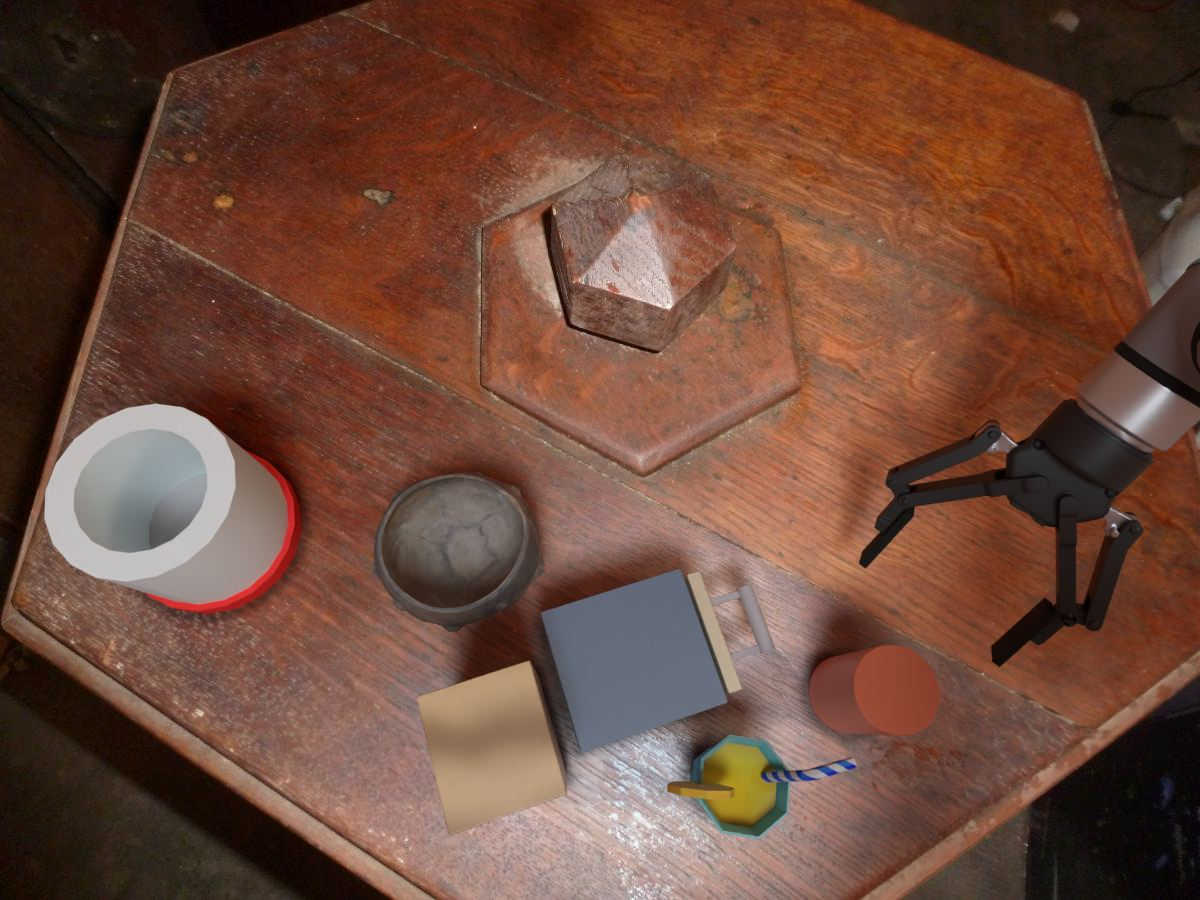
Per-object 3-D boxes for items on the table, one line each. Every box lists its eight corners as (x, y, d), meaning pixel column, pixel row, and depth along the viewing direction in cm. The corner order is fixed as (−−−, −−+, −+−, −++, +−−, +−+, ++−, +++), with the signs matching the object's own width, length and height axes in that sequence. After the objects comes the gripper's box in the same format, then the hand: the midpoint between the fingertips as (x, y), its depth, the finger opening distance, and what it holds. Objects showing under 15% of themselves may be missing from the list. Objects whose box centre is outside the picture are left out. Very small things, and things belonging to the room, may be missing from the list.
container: (147, 455, 78) (57, 398, 64) (309, 452, 79) (254, 395, 65) (120, 616, 73) (15, 592, 59) (293, 611, 73) (230, 587, 60)
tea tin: (894, 718, 73) (955, 718, 61) (826, 744, 72) (875, 748, 60) (863, 646, 75) (916, 632, 63) (797, 669, 74) (839, 660, 62)
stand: (566, 774, 70) (567, 794, 51) (480, 804, 69) (448, 836, 50) (538, 675, 72) (529, 659, 54) (455, 702, 71) (416, 696, 52)
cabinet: (666, 586, 76) (680, 567, 67) (707, 704, 72) (728, 702, 63) (543, 625, 74) (540, 612, 65) (579, 748, 71) (581, 753, 61)
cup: (787, 711, 72) (841, 709, 58) (813, 799, 70) (877, 819, 56) (643, 749, 71) (663, 756, 57) (665, 840, 68) (692, 871, 54)
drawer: (731, 570, 76) (749, 554, 68) (770, 676, 72) (794, 671, 65) (573, 621, 73) (574, 610, 66) (606, 732, 70) (611, 733, 63)
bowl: (565, 592, 75) (565, 573, 66) (416, 663, 72) (393, 655, 63) (507, 468, 79) (499, 434, 70) (363, 531, 76) (335, 505, 67)
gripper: (1250, 506, 60) (1048, 675, 70) (970, 324, 64) (818, 507, 74) (1285, 544, 53) (1057, 724, 63) (972, 338, 58) (804, 537, 68)
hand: (927, 607), depth 69 cm, fingers open, 13 cm apart
